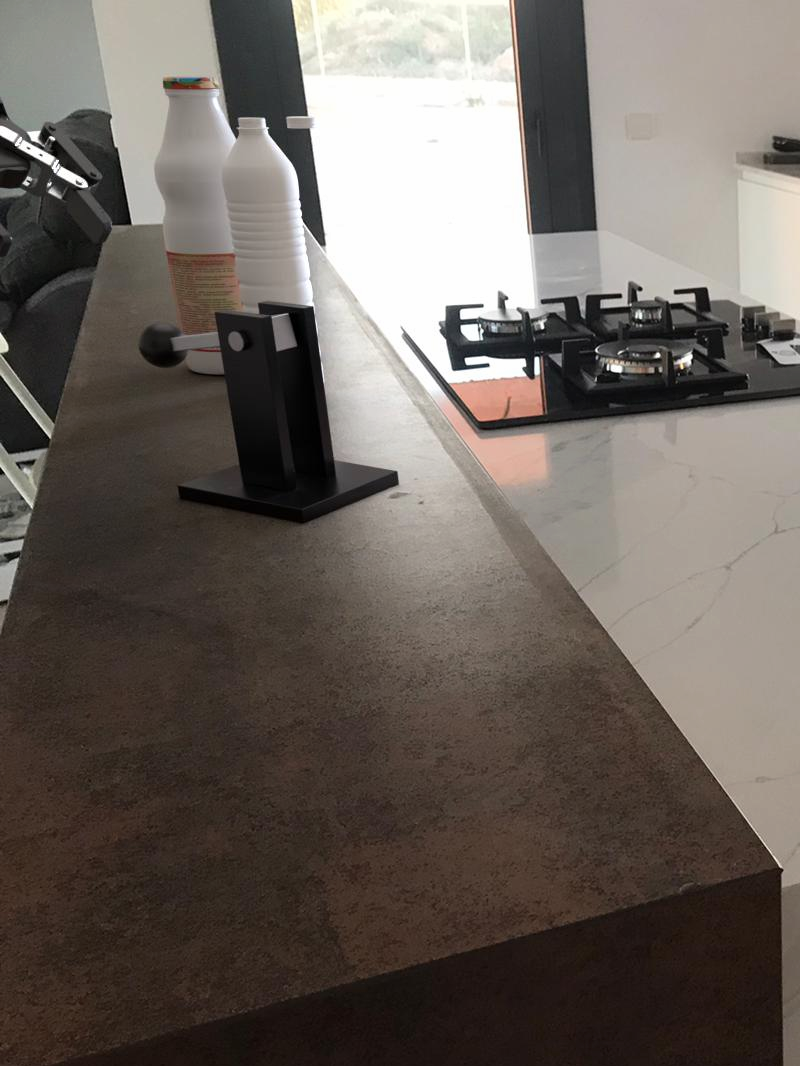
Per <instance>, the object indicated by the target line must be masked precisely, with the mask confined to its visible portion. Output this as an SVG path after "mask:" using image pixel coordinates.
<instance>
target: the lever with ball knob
mask: <svg viewBox="0 0 800 1066" xmlns="http://www.w3.org/2000/svg"><path fill="white" fill-rule="evenodd" d="M270 316H272V323H273V330H274V336H275V343H276V350H277V352H278V351H282V350H286V349H290V348H294V347H297V342H296V338H295V335H294V331H293V327H292V324H291V320H290V316H289V314H279V315H270ZM137 346H138V350H139V352H140V355H141V356H142V358H143V359H144V360H145V361H146V362H147V363H149V365H152V366H154V367H155V368H156V367H157V368H160V369H170V368H174V367H178V365H180V364H182V363H183V361H185V360H186V359H185V358H186V356H187V353H188V350H195V349H205V348H215V347H220V344H219V338H218V332H212V333H203V334H194V335H184V333H183V332H182V331H181V330H180V327H178V326H176V325H174V324H172V323H169V322H163V321H161V322H160V321H158V322H153V323H150V324H149V325H146V326H145V328H143V329H142V330H141V332H140V333H139V337H138V341H137Z"/></svg>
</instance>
